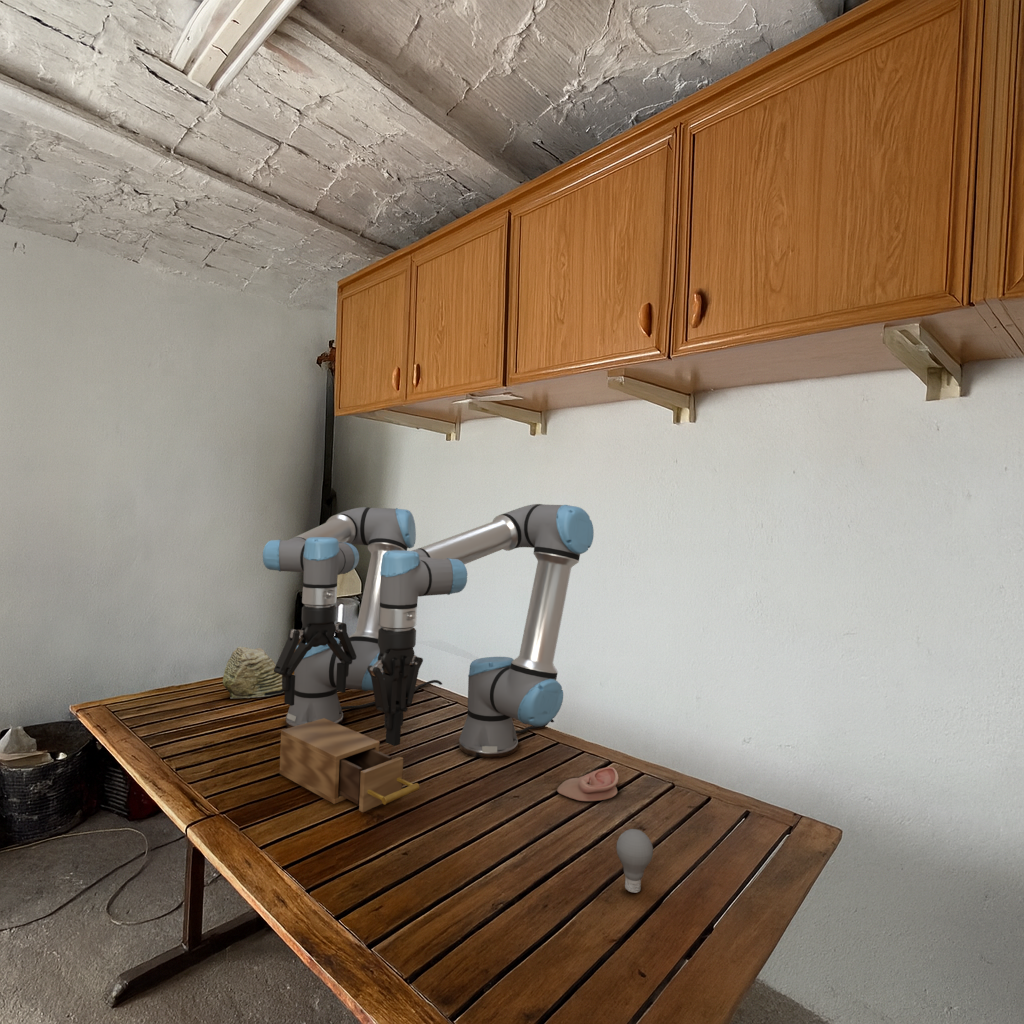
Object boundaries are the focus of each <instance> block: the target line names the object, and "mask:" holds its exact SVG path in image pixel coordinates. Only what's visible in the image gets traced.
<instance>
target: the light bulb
mask: <svg viewBox="0 0 1024 1024" xmlns="http://www.w3.org/2000/svg"><path fill="white" fill-rule="evenodd" d="M615 849H616V854H617V857H618V859H619V861H620V863H621V865H622V867H623V873H624V874H623V875H624V876H625V878H624V888H625V890H627V891H628V892H630V893H634V894H635V893H639V892H640V891H641V889H642V887H641V886H642V879H643V877H644V875H645V871H646V868H647V867H648V866H649V864H650V863H651V861H652V859H653V855H654V847H653V843H652V841H651V838H649V836H648V835H647V834H646V833H645V832H643V831H642V830H641V829H636V828H629V829H627V830H625V831H623V832H622V833H621V834H620V835H619V837H618V839H617V841H616V847H615Z"/></svg>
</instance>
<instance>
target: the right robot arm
mask: <svg viewBox="0 0 1024 1024" xmlns="http://www.w3.org/2000/svg"><path fill="white" fill-rule="evenodd" d="M590 517H591V516H590V515H589V513H587V511H586V510H584V509H583V508H582V507H579V506H575V505H570V504H542V503H533V504H528V505H525V506H524V505H523V506H521V507H519V508H515V509H513V510H511V511H507V512H504V513H502V514H499V515H496V516H495V517H494V518H493V520H492V521H491V522H488V523H485V524H482V525H480V526H476V527H474V528H471V529H468V530H466V531H463V532H461V533H458V534H455V535H451V536H449V537H446V538H443V539H440V540H438V541H436V542H432V543H429V544H427V545H424V546H422V547H419V548H416V549H412V550H407V551H403V550H402V551H399V550H393V551H387V552H385V553H384V554H383V556H382V562H381V571H380V575H381V578H380V606H379V626H381V628H380V629H379V630H378V646H379V648H380V653H379V655H378V661H377V662H376V663H375V664H374V665H373V666H371V665H369V666H368V668H367V670H368V672H369V674H370V676H371V679H372V685H373V692H372V693H373V697H374V701H375V709H376V710H377V711H379V712H382V713H383V714H384V715H383V716H384V717H383V718H384V719H383V727H384V729H385V743H386V744H388V745H391V746H393V747H396V746H399V745H401V733H402V732H401V730H402V726H403V724H404V713H406V712H407V711H408V710H409V708H408V707H410V706H412V704H413V701H414V695H415V692H416V691H415V688H416V687H417V686H416V685H417V681H418V676H419V672H420V668H421V667H422V664H423V662H424V658H423V657H420V656H417V655H416V654H415V649H414V648H415V647H416V643H417V629H416V628H415V627H416V626H417V618H418V617H417V615H418V599H419V597H428V596H441V595H443V596H444V595H447V596H449V595H452V594H458V593H460V592H462V591H463V590H464V589H465V588H466V586H467V583H468V570H467V566H466V564H469V563H471V562H474V561H477V560H479V559H483V558H484V557H487V556H489V555H492V554H494V553H496V552H500V551H502V550H504V551H507V552H508V551H509V552H510V551H512V550H515V549H519V548H531V549H533V553H532V554H533V555H534V557H535V559H536V560H537V564H536V568H535V574H534V578H533V583H532V590H531V594H530V599H529V605H528V608H527V609H528V610H527V614H526V619H525V624H524V629H523V634H522V639H521V644H520V648H519V655H518V656H517V657H516V658H512V657H509V656H486V657H480V658H476V659H474V660H472V661H471V663H470V664H469V671H468V675H467V677H468V681H467V714H466V715H467V716H466V719H465V722H464V723H463V727H462V730H461V733H460V735H459V737H458V748H459V749H460V750H461V751H462V752H463V753H465V754H467V755H469V756H472V757H477V758H485V759H498V758H499V759H500V758H504V757H507V756H512V755H513V754H514V753H515V752H517V751H518V746H519V739H518V735H521V734H524V733H526V732H528V731H531V730H538V729H539V730H540V729H543V728H546V726H548V725H549V723H555V720H554V719H555V718H556V716H557V715H558V713H559V712H560V710H561V708H562V706H563V702H564V690H563V687H562V685H561V683H560V682H559V681H558V680H557V679H558V678H557V677H558V673H559V671H558V669H557V667H556V666H555V663H554V661H555V655H556V651H557V644H558V640H559V635H560V629H561V623H562V619H563V614H564V609H565V603H566V600H567V599H566V598H567V593H568V587H569V582H570V578H571V572H572V569H573V567H574V566H576V565H577V564H579V562H580V557H581V555H582V554H584V553H586V552H588V551H589V549H590V548H591V546H592V545H593V541H594V537H595V536H594V535H595V533H594V532H595V530H594V524H593V521H592V520H591V518H590ZM382 669H383V670H382ZM382 673H383V674H382ZM414 691H415V692H414ZM513 719H514V720H516V721H519V722H520V723H522V724H524V725H529V726H527V727H525V728H523V729H519V730H518V729H517V730H516V727H515V724H514V720H513Z"/></svg>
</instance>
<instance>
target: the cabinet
mask: <svg viewBox="0 0 1024 1024" xmlns="http://www.w3.org/2000/svg"><path fill="white" fill-rule="evenodd" d="M380 745H381V742H380V741H379V740H377V739H374V738H372V737H371V736H370V737H369V736H367V735H365V734H363V733H361V732H358V731H356V730H353V729H351V728H349V727H347V726H344V725H342V724H340V725H339V724H337V723H334V722H332V721H330V720H327V719H325V718H323V719H319V720H316V721H312V722H309V723H305V724H302V725H298V726H295V727H291V728H288V727H286V728H284V729H282V730H280V747H279V749H280V750H279V771H278V773H279V775H281V776H283V777H284V778H286V779H287V780H290V781H292V782H293V783H296V784H297V785H299V786H300V787H302V788H304V789H306V790H308V791H310V792H312V793H313V794H315V795H317V796H318V797H319V798H320V797H321V798H322V799H324V800H326V801H328V802H329V803H331V804H333V805H335V804H338V803H340V802H343V801H346V800H348V799H347V798H345V797H343V796H341V795H339V794H338V787H339V762H340V760H341V759H343V758H346V757H349V756H352V755H355V754H358V753H361V752H363V751H366V750H369V749H374V750H377V751H379V752H380Z"/></svg>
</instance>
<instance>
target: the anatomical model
mask: <svg viewBox="0 0 1024 1024" xmlns="http://www.w3.org/2000/svg"><path fill="white" fill-rule="evenodd" d="M618 783H619V773H618V772H617V770H616V769H615V768H614V767H612V766H607V767H602V768H599V769H596V770H593V771H591V772H589V773H587V774H584V775H581V776H579V777H572V778H568V779H565V780H564V781H563V782H562V783H561V784H560V785H559V786H558V787H557V789H556V792H557V793H558V794H560V795H562V796H564V797H566V798H569V799H571V800H575V801H580V802H597V801H604V800H608V799H612V798H613V797H615V796H616V795H617V794H618V788H617V785H618Z"/></svg>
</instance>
